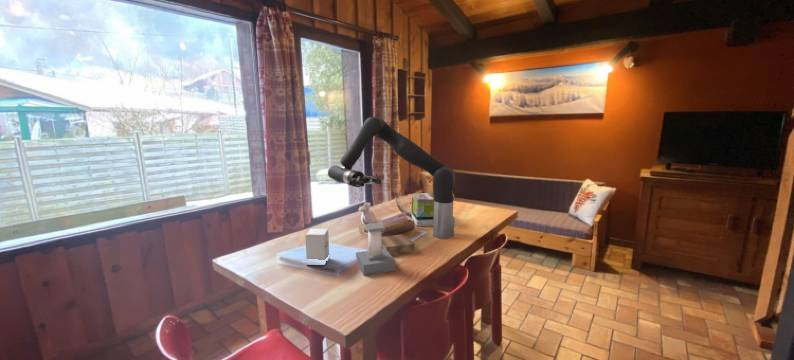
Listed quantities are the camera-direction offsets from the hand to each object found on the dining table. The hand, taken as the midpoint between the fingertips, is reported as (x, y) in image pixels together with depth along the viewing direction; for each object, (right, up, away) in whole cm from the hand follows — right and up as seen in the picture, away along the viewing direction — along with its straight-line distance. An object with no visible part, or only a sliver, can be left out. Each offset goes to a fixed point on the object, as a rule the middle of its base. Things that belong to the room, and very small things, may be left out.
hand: (372, 183), depth 141 cm
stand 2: (+10, -29, -1) cm, 30 cm away
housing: (+2, -28, -18) cm, 33 cm away
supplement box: (-20, -31, -14) cm, 40 cm away
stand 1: (+3, -32, -18) cm, 36 cm away
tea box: (+25, -22, +37) cm, 49 cm away
